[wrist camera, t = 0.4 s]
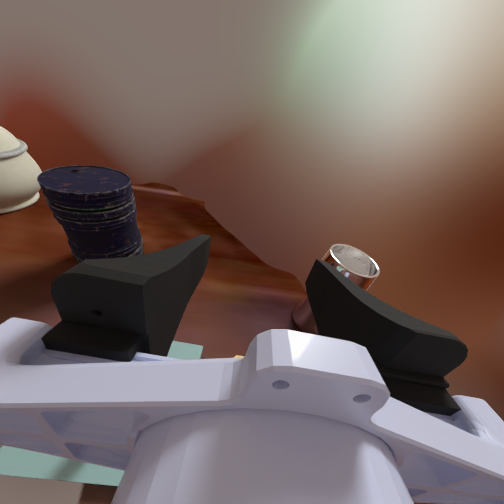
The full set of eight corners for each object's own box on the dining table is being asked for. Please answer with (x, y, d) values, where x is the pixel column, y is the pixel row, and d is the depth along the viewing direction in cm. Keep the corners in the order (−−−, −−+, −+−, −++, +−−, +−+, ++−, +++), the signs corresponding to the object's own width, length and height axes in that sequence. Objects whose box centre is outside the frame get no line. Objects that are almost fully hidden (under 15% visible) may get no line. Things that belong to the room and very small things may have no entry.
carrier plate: (164, 490, 16) (161, 492, 14) (-11, 473, 15) (-49, 471, 12) (202, 349, 26) (204, 335, 23) (97, 331, 24) (87, 314, 22)
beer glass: (331, 341, 31) (392, 283, 22) (292, 335, 30) (338, 272, 21) (321, 306, 36) (366, 248, 27) (287, 300, 36) (323, 238, 27)
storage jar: (156, 257, 36) (147, 183, 27) (104, 288, 29) (67, 201, 20) (122, 236, 39) (102, 162, 30) (65, 260, 31) (16, 170, 22)
